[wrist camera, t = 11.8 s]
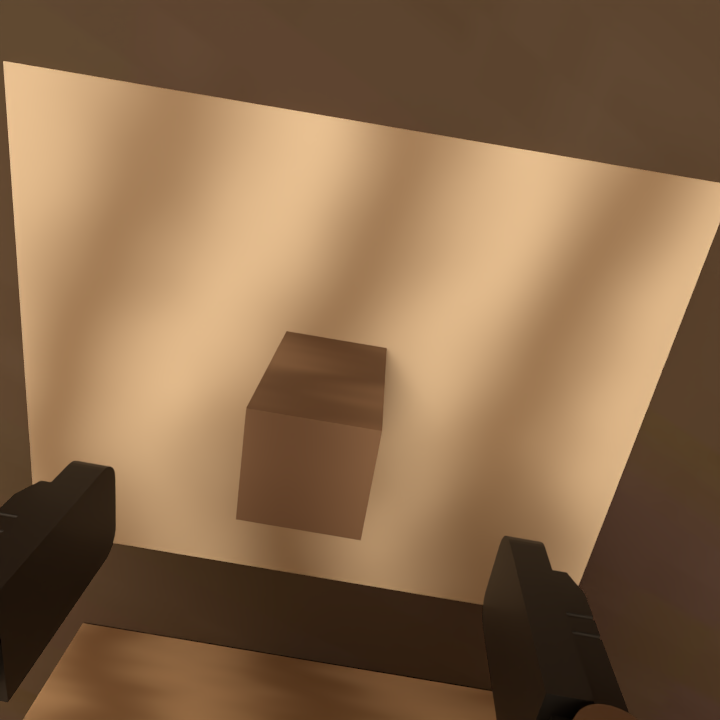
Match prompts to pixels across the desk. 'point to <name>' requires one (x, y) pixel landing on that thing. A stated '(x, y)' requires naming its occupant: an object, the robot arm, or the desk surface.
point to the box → (232, 685)
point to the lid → (337, 329)
